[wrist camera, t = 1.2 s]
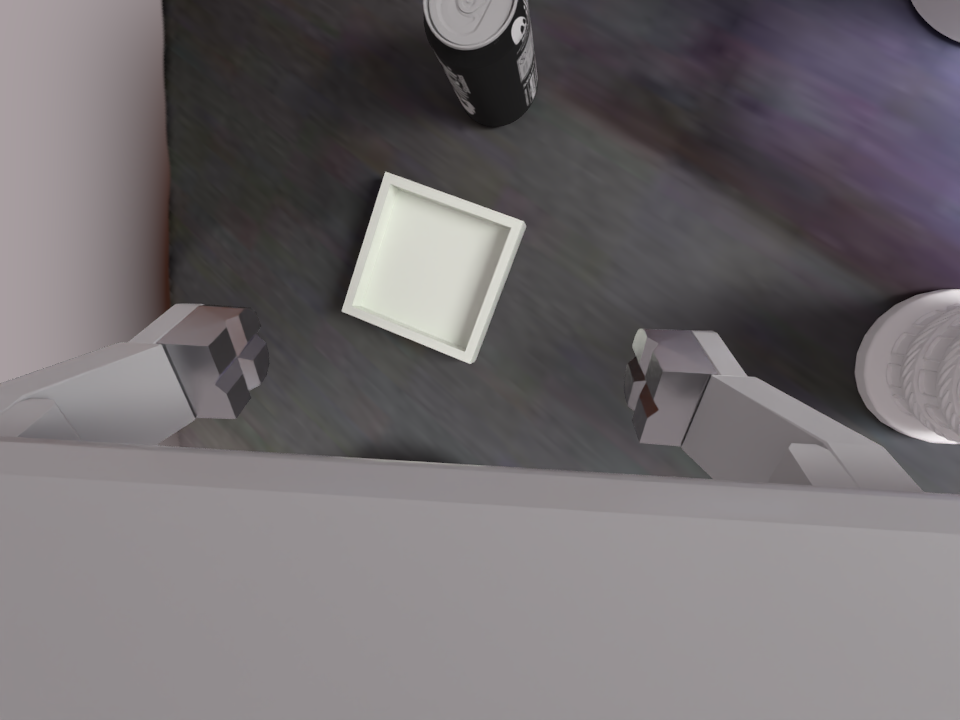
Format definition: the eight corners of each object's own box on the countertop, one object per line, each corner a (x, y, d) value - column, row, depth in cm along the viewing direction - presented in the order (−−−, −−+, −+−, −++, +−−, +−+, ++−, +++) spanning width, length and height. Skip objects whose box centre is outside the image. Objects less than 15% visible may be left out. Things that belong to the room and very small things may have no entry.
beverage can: (445, 90, 39) (394, 0, 28) (502, 29, 38) (473, -94, 26) (495, 147, 39) (465, 80, 27) (554, 87, 38) (549, -11, 26)
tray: (395, 178, 41) (385, 171, 39) (526, 226, 39) (523, 221, 37) (353, 310, 43) (341, 311, 41) (475, 360, 42) (470, 364, 39)
